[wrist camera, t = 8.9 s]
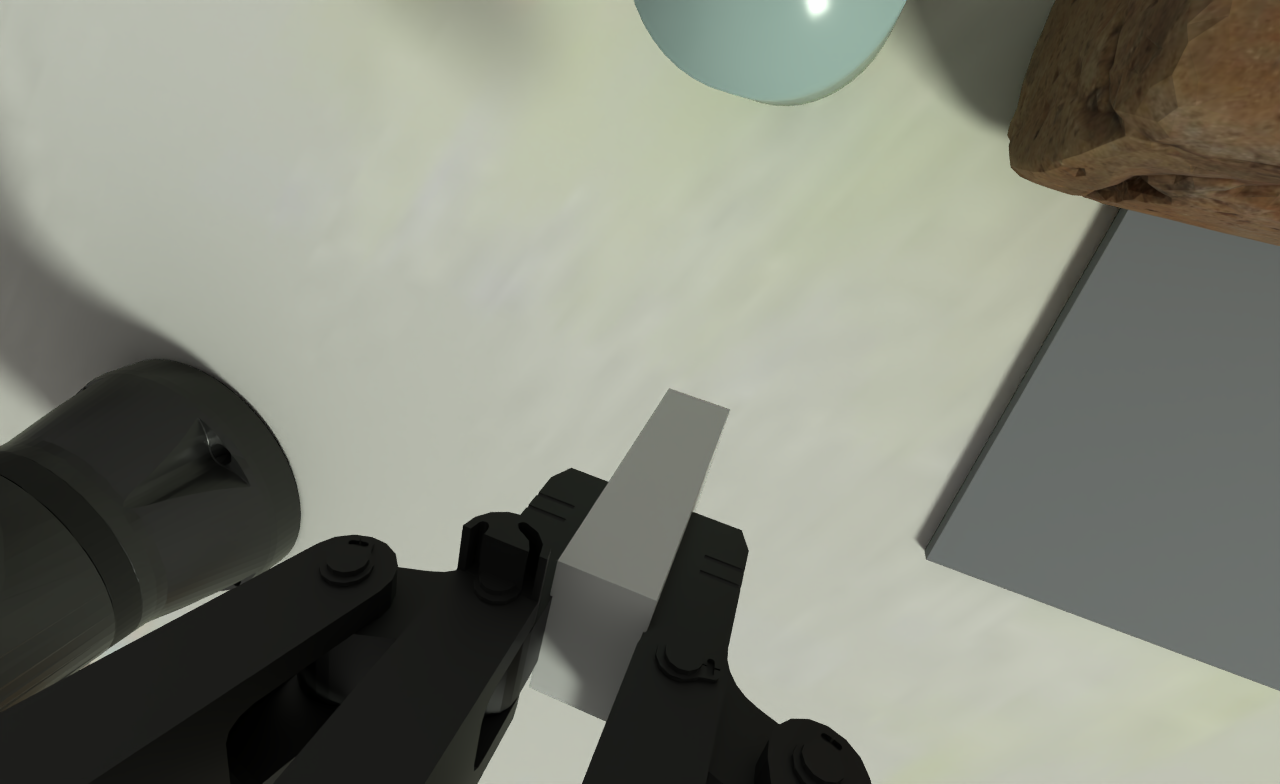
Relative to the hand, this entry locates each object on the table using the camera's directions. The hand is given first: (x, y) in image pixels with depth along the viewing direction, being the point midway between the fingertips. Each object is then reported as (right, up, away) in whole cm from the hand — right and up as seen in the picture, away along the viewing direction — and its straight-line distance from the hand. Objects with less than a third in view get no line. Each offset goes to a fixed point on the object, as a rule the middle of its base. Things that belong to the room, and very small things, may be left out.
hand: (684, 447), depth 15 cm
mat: (+21, -2, +8) cm, 23 cm away
